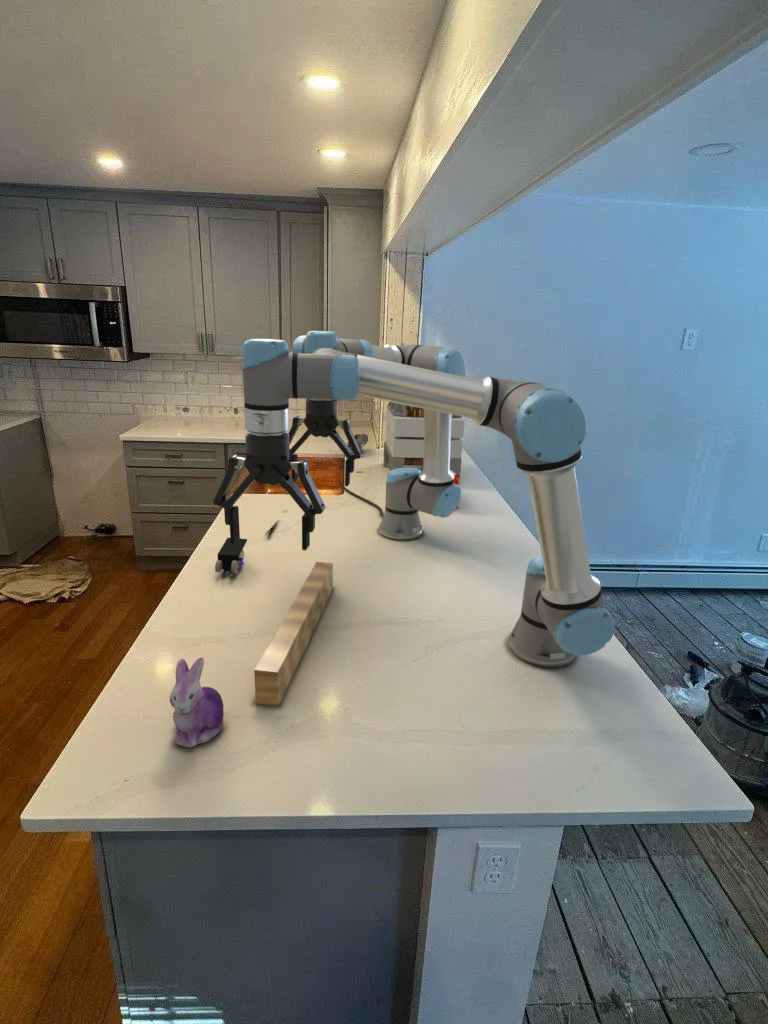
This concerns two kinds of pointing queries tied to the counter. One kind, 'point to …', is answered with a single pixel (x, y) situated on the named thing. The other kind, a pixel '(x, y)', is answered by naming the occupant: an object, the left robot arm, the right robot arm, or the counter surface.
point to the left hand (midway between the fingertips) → (320, 482)
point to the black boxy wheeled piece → (230, 557)
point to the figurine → (195, 706)
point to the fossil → (359, 441)
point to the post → (292, 636)
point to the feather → (272, 529)
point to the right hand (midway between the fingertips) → (270, 544)
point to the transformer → (415, 438)
